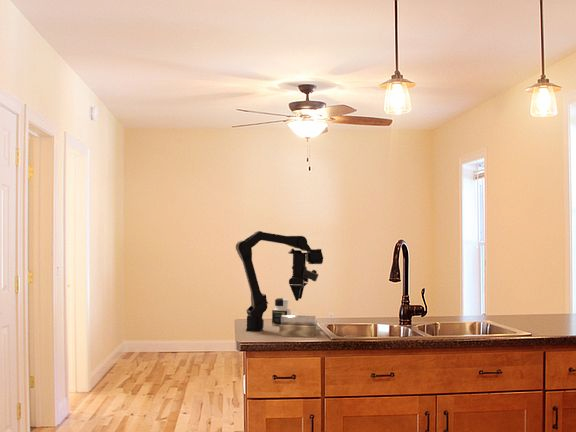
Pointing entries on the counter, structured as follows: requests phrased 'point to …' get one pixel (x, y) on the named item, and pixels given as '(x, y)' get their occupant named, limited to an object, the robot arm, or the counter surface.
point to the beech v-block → (297, 330)
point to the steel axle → (297, 320)
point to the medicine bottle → (280, 310)
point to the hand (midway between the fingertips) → (298, 299)
